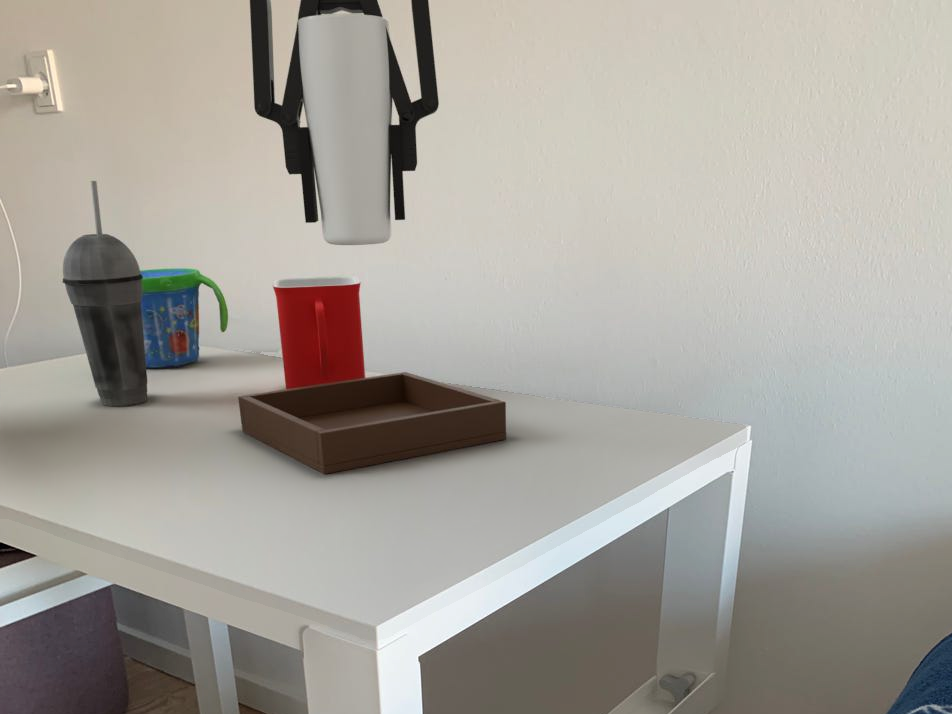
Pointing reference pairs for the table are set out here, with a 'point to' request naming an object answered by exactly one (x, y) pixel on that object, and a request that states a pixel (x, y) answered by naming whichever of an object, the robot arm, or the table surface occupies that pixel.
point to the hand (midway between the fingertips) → (356, 219)
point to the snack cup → (174, 315)
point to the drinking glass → (349, 123)
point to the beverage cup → (108, 312)
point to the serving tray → (371, 420)
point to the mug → (320, 329)
